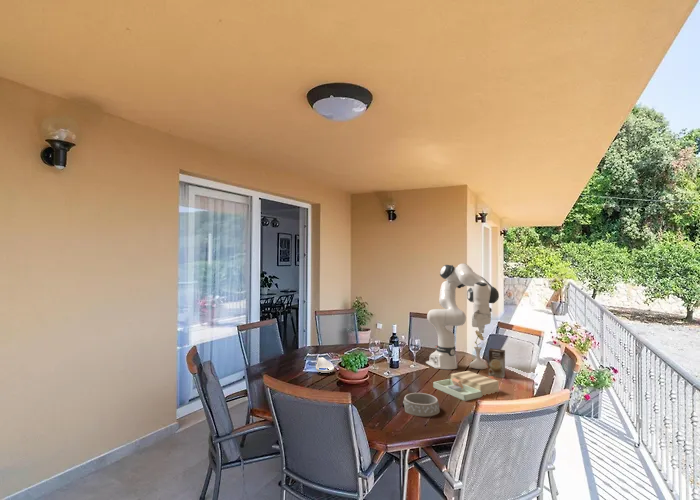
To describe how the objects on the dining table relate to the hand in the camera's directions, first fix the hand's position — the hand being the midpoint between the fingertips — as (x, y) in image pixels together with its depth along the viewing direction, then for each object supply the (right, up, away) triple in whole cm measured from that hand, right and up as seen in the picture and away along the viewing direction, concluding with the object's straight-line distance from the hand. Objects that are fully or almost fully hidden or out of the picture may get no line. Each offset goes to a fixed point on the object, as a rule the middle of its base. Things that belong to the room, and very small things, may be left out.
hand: (481, 333), depth 223 cm
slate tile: (-20, -26, -16) cm, 37 cm away
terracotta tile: (-17, -25, -13) cm, 33 cm away
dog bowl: (-44, -28, -41) cm, 66 cm away
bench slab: (-8, -29, -11) cm, 32 cm away
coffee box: (+14, -30, +13) cm, 35 cm away
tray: (-20, -28, -17) cm, 39 cm away
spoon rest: (-96, -30, +23) cm, 104 cm away
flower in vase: (+8, -30, +30) cm, 43 cm away
